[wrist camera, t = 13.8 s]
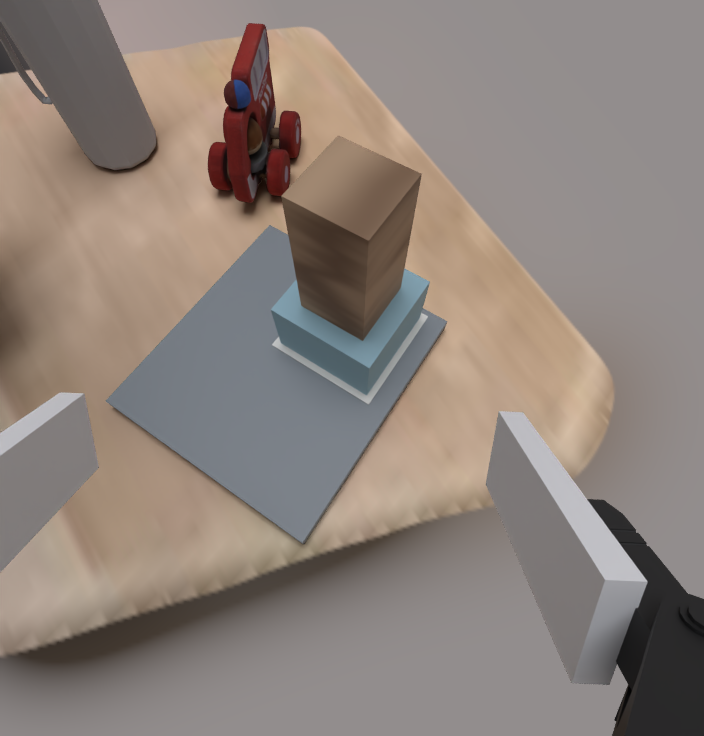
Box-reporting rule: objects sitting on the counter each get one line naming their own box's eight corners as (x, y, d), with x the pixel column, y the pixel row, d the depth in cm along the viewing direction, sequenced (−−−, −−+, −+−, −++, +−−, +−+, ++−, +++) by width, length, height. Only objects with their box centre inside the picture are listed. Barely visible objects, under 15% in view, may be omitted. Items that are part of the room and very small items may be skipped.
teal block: (280, 343, 35) (270, 309, 31) (337, 272, 38) (336, 232, 34) (366, 395, 34) (369, 368, 29) (419, 318, 36) (429, 281, 32)
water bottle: (168, 123, 47) (-1, -292, 25) (151, 178, 44) (-60, -239, 21) (81, 120, 48) (-167, -295, 25) (58, 175, 44) (-251, -243, 22)
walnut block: (301, 305, 31) (281, 195, 22) (341, 256, 33) (338, 135, 24) (362, 341, 30) (368, 240, 21) (400, 288, 32) (421, 174, 23)
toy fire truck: (209, 212, 43) (170, 109, 33) (241, 122, 48) (215, 11, 38) (282, 220, 42) (262, 119, 33) (306, 129, 47) (295, 19, 38)
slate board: (113, 406, 35) (104, 400, 33) (271, 234, 41) (269, 224, 40) (304, 544, 31) (302, 543, 29) (444, 328, 38) (447, 320, 36)
